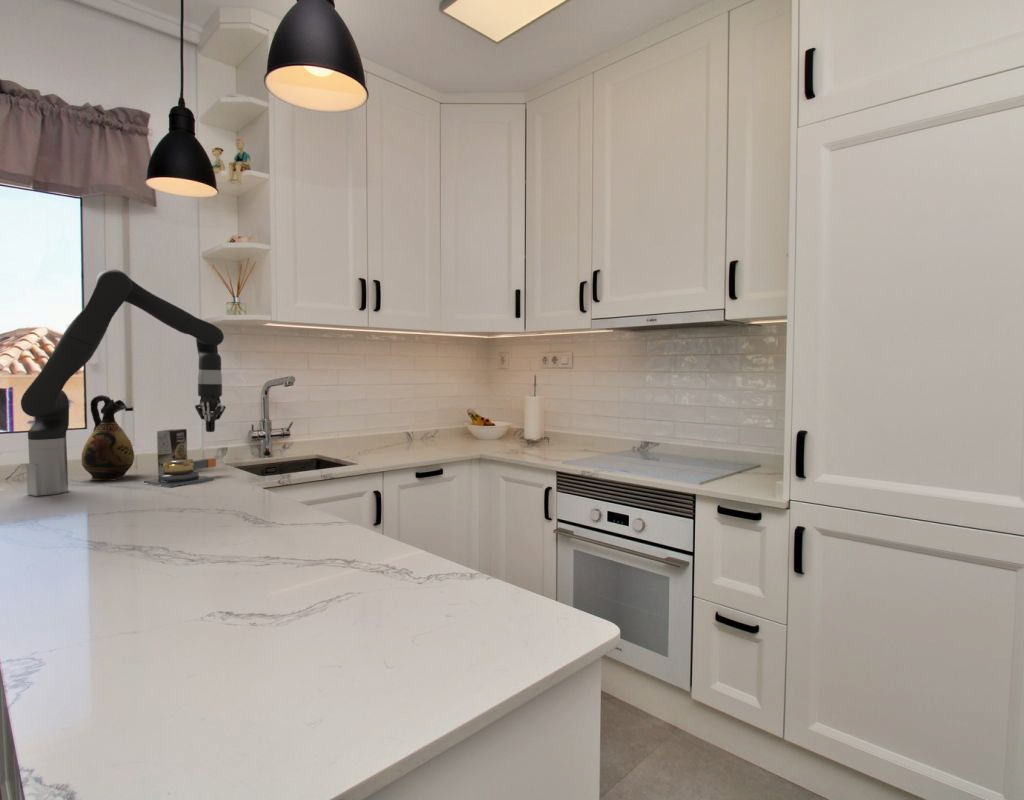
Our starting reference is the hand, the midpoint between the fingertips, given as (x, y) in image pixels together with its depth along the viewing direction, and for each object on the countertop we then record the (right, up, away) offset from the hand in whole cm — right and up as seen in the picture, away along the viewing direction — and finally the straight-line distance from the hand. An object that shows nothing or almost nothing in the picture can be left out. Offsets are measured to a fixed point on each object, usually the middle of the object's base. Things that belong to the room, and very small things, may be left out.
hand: (210, 431), depth 199 cm
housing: (-8, -17, -5) cm, 20 cm away
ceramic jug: (-38, -17, +2) cm, 42 cm away
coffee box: (-23, -17, +17) cm, 33 cm away
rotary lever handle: (-6, -14, -2) cm, 15 cm away
